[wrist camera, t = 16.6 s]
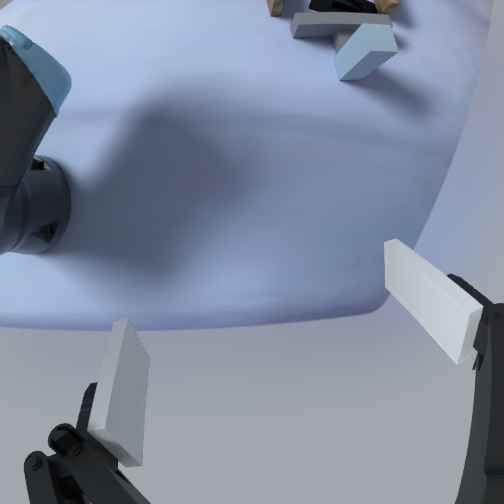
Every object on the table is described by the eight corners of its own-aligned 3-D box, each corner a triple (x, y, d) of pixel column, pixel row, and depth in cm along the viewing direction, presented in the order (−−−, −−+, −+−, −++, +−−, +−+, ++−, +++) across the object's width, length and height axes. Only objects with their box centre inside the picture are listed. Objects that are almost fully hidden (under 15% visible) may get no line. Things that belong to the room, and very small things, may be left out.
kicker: (303, 82, 39) (325, 51, 28) (290, 26, 37) (305, -16, 26) (392, 79, 39) (434, 55, 28) (377, 26, 37) (411, -8, 26)
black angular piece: (384, 7, 37) (397, -6, 32) (379, 41, 39) (392, 29, 34) (307, -22, 36) (314, -38, 31) (298, 12, 37) (304, -4, 32)
